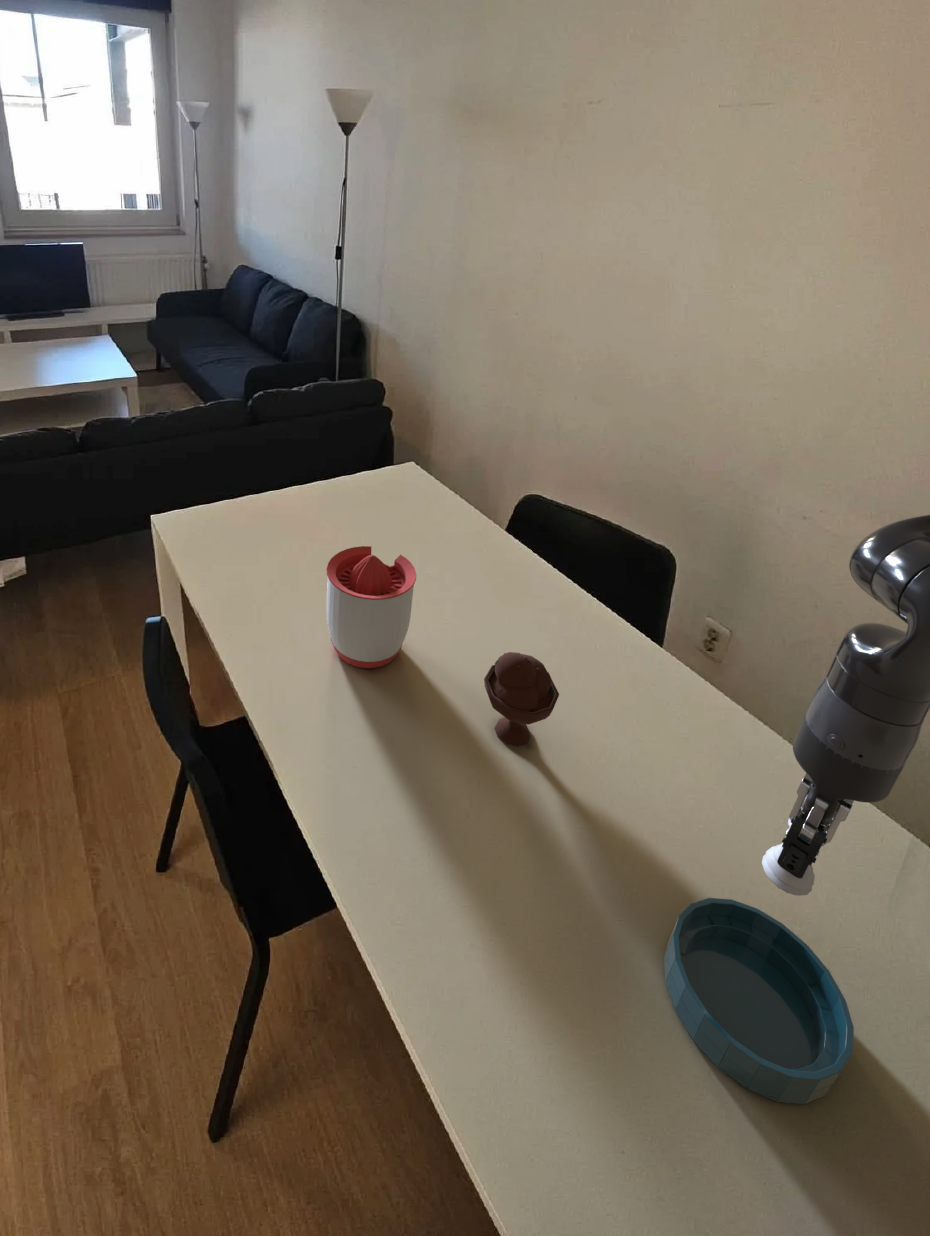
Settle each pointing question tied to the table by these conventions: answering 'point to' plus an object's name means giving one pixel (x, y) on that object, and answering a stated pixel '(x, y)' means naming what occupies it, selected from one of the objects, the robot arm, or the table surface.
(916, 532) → the robot arm
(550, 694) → the ice cream bowl
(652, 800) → the table surface
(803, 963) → the shallow round dish
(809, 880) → the rook chess piece
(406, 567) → the citrus juicer
